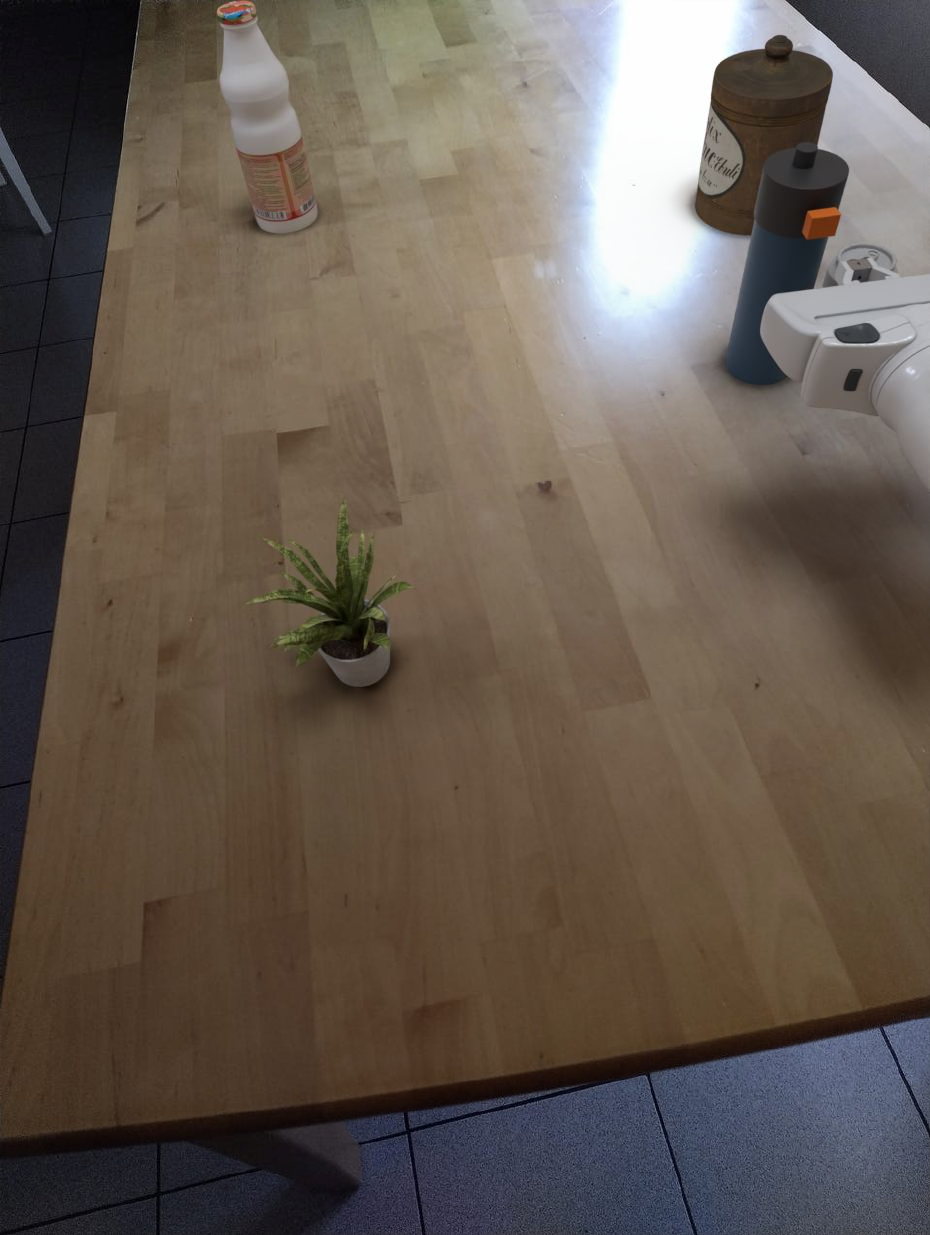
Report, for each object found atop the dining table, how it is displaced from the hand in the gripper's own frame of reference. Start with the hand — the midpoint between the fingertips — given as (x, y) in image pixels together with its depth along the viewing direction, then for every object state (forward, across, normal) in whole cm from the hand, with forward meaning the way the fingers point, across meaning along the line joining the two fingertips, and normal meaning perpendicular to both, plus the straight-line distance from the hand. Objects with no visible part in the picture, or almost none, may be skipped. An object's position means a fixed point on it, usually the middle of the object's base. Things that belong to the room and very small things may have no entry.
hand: (852, 266), depth 78 cm
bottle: (+14, 0, +22) cm, 26 cm away
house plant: (-20, +50, +22) cm, 58 cm away
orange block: (+8, 0, +1) cm, 8 cm away
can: (+15, -11, +22) cm, 29 cm away
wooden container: (+47, -10, +22) cm, 53 cm away
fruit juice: (+62, +56, +22) cm, 86 cm away
